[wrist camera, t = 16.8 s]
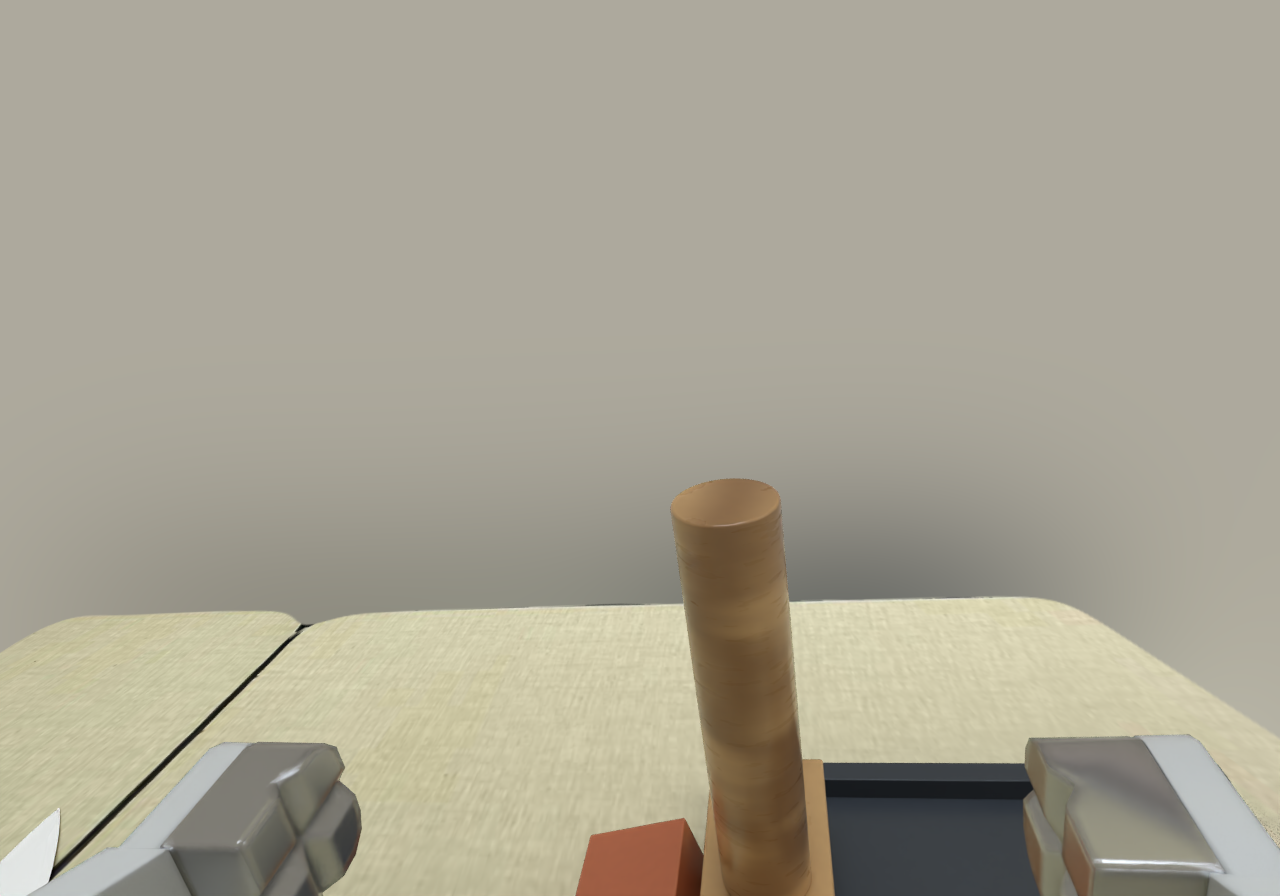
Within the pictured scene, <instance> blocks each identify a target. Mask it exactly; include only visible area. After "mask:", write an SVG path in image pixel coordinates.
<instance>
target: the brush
mask: <svg viewBox="0 0 1280 896" xmlns="http://www.w3.org/2000/svg"><path fill="white" fill-rule="evenodd" d="M670 510H671V516H672V524H673V531H674V538H675V545H676V552H677V559H678V567H679V574H680V581H681V587H682V595H683V602H684V609H685V616H686V623H687V631H688V638H689V645H690V652H691V659H692V666H693V673H694V680H695V687H696V695H697V702H698V709H699V716H700V723H701V730H702V737H703V744H704V751H705V758H706V766H707V773H708V780H709V787H710V790H709V801H708V812H707V823H706V834H705V845H704V857H703V868H702V879H701V890H700V896H835V890H834V879H833V868H832V857H831V846H830V835H829V824H828V812H827V801H826V790H825V779H824V768H823V761H822V760H820V759H802V752H801V740H800V728H799V716H798V704H797V692H796V680H795V667H794V655H793V643H792V631H791V619H790V607H789V595H788V583H787V571H786V559H785V547H784V535H783V523H782V511H781V500H780V496H779V494H778V492H777V491H776V490H775V489H774V488H773V487H772V486H770V485H768V484H766V483H763V482H760V481H755V480H749V479H720V480H714V481H709V482H705V483H701V484H698V485H695V486H693V487H690V488H688V489H686V490H684V491H683V492H681V493H680V494H679V495H677V496H676V497H675V499H674V500H673V502H672V504H671V509H670Z"/></svg>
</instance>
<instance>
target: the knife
mask: <svg viewBox="0 0 1280 896" xmlns="http://www.w3.org/2000/svg"><path fill="white" fill-rule="evenodd" d="M59 825H60V808H58V809H57V810H56V811H55V812H53V813H52V814H51V815H50V816H48V817H47V818H46V819H45V820H44V821H43V822H42V823H40V824H39V825H38V826H37V827H36V828H35V829H34V830H33V831H32V832H30V833H29V834H28V835H27V836H26V837H25V838H24V839H23V840H22V841H21V842H20V843H19V844H18V845H17V846H16V847H15V848H14V849H13V850H12V851H11V852H10V853H9V854H8V855H7V856H6V857H5V858H4V859H3V860H2V861H1V862H0V896H27V895H28V894H30V893H32V892H33V891H35V890H37V889H38V888H40V887H42V886H43V885H45V884H47V883H48V882H49V878H50V875H51V871H52V867H53V863H54V858H55V853H56V848H57V842H58V835H59Z"/></svg>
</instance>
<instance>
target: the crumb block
mask: <svg viewBox="0 0 1280 896" xmlns="http://www.w3.org/2000/svg"><path fill="white" fill-rule="evenodd" d="M703 857H704V855H703V853H702V851H701V849H700V847H699V846H698V844H697V842H696V840H695V838H694V836H693V834H692V832H691V830H690V828H689V826H688V824H687V822H686V820H685V818H681V819H675V820H670V821H665V822H659V823H654V824H649V825H643V826H638V827H632V828H627V829H622V830H616V831H611V832H606V833H600V834H595V835H591V836H590V840H589V844H588V848H587V852H586V856H585V860H584V864H583V868H582V871H581V875H580V879H579V883H578V887H577V891H576V895H575V896H700V890H701V879H702V868H703Z"/></svg>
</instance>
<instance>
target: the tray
mask: <svg viewBox="0 0 1280 896" xmlns="http://www.w3.org/2000/svg"><path fill="white" fill-rule="evenodd" d="M1218 766H1219V765H1218ZM823 768H824V779H825V790H826V801H827V812H828V824H829V835H830V846H831V857H832V868H833V879H834V890H835V896H1040V893H1039V890H1038V887H1037V884H1036V882H1035V879H1034V876H1033V873H1032V869H1031V865H1030V862H1029V858H1028V854H1027V849H1026V842H1025V835H1024V828H1023V799H1024V798H1025V797H1026V796H1027V795H1028V794H1029V793H1030V792H1031V791H1032V790H1033V787H1032V784H1031V782H1030V779H1029V777H1028V774H1027V772H1026V769H1025V764H1010V763H823ZM1219 768H1220V767H1219ZM1220 769H1221V768H1220ZM1221 770H1222V769H1221ZM1222 772H1223V771H1222ZM1223 773H1224V772H1223ZM1224 775H1225V774H1224ZM1225 776H1226V775H1225ZM1226 777H1227V776H1226ZM1227 779H1228V778H1227ZM1228 780H1229V779H1228ZM1229 781H1230V780H1229ZM1230 783H1231V782H1230Z"/></svg>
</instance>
